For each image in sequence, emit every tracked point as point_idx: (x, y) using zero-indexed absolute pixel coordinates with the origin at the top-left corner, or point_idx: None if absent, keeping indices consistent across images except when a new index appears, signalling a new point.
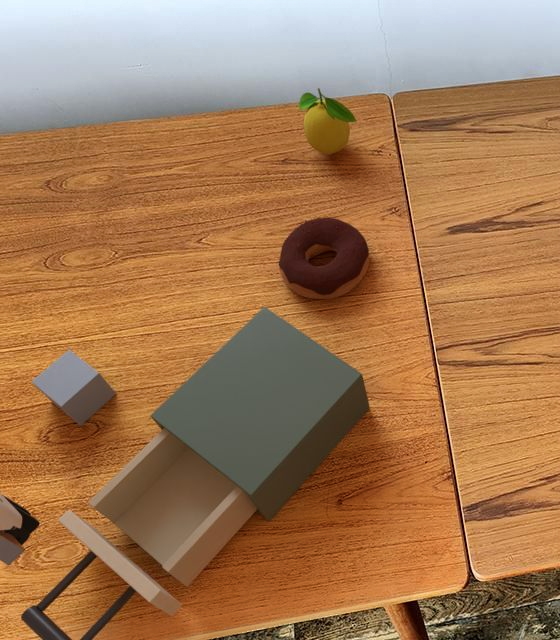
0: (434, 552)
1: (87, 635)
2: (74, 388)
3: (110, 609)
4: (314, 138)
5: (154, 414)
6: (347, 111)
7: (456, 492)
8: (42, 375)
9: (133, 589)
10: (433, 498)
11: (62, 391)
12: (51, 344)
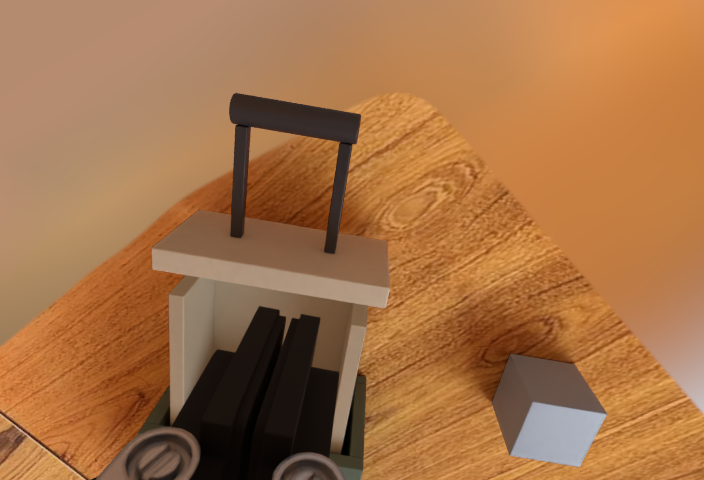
0: (12, 388)
1: (241, 146)
2: (530, 428)
3: (240, 194)
4: None
5: (357, 473)
6: None
7: (44, 446)
8: (595, 426)
9: (231, 233)
10: (59, 433)
11: (546, 419)
12: (628, 422)
